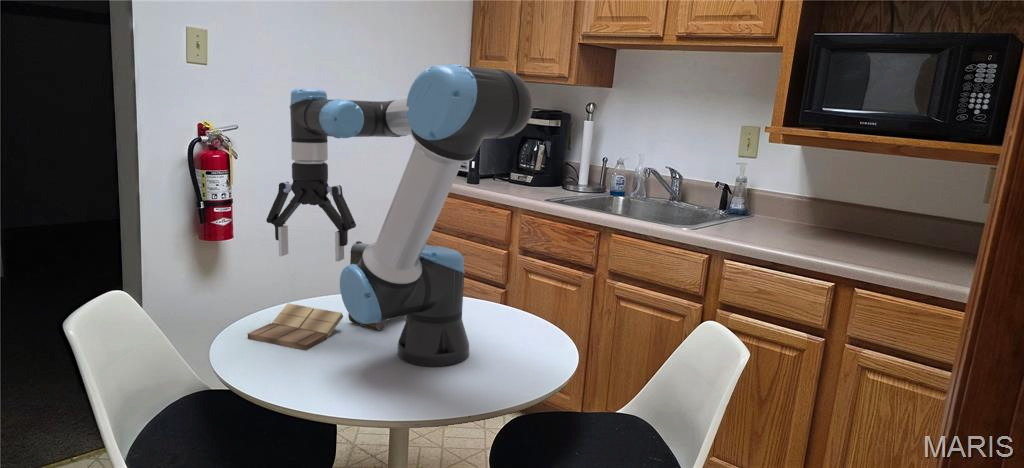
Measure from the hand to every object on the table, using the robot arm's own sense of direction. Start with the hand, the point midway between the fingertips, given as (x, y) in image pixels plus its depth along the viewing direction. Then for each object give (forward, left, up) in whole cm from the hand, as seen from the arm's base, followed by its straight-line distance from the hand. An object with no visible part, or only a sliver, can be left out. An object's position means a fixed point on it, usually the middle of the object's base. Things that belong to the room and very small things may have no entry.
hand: (311, 257), depth 149 cm
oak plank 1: (+6, -1, -16) cm, 17 cm away
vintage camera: (-10, -15, -18) cm, 25 cm away
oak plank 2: (-2, -1, -16) cm, 16 cm away
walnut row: (+2, +6, -17) cm, 19 cm away
